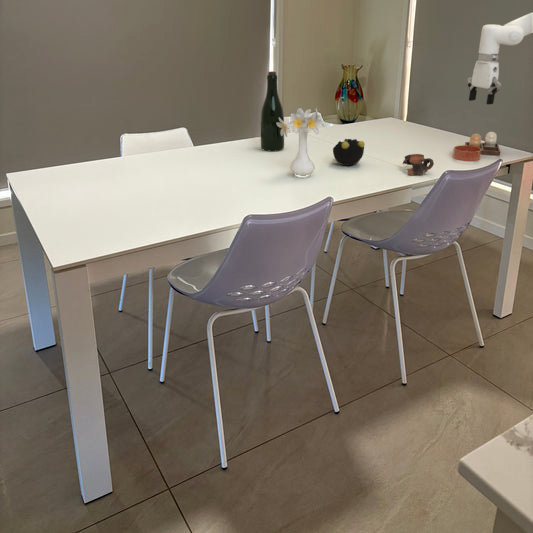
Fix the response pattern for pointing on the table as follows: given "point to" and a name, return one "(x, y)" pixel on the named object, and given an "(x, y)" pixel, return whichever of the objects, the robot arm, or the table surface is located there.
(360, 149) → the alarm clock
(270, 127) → the wine bottle
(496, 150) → the egg holder
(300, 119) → the flower vase
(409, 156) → the pottery mug
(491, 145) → the egg
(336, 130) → the table surface
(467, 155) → the bowl
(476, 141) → the egg
